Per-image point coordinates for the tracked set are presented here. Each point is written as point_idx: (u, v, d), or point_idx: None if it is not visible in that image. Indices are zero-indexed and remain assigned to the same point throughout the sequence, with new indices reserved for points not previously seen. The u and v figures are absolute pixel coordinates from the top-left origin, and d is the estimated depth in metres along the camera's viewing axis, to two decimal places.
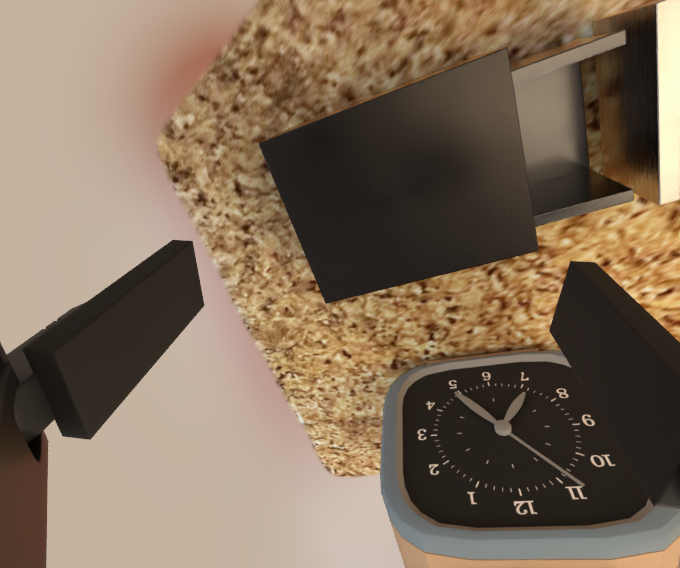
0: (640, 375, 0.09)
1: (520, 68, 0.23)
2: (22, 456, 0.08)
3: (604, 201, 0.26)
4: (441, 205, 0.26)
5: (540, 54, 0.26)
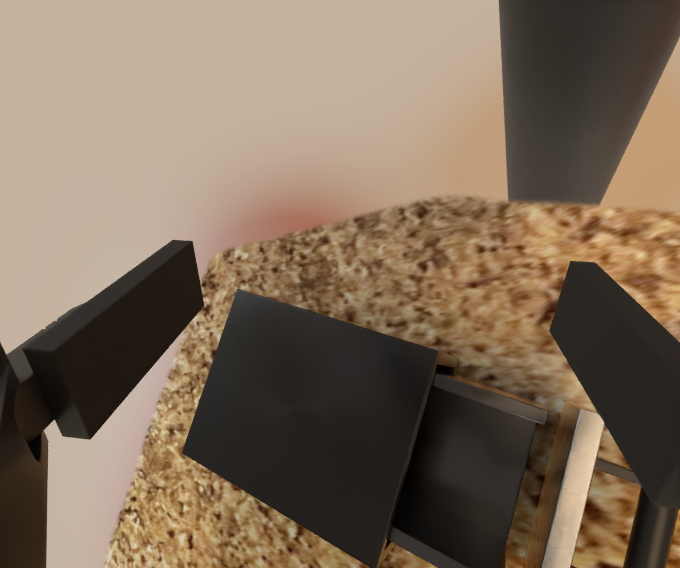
0: (640, 376, 0.09)
1: (447, 377, 0.23)
2: (22, 456, 0.08)
3: None
4: (320, 442, 0.25)
5: (494, 389, 0.27)
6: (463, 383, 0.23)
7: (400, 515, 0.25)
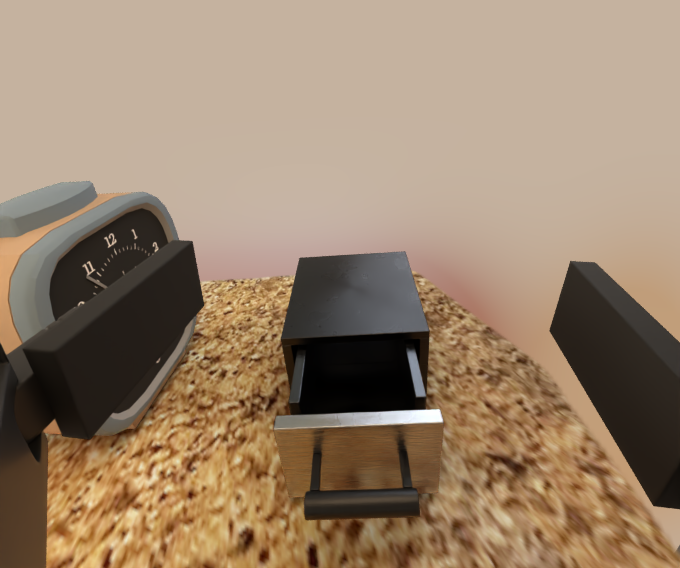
0: (639, 376, 0.09)
1: (414, 348, 0.33)
2: (22, 456, 0.08)
3: (297, 385, 0.30)
4: (339, 301, 0.38)
5: None
6: (415, 355, 0.32)
7: (309, 364, 0.35)
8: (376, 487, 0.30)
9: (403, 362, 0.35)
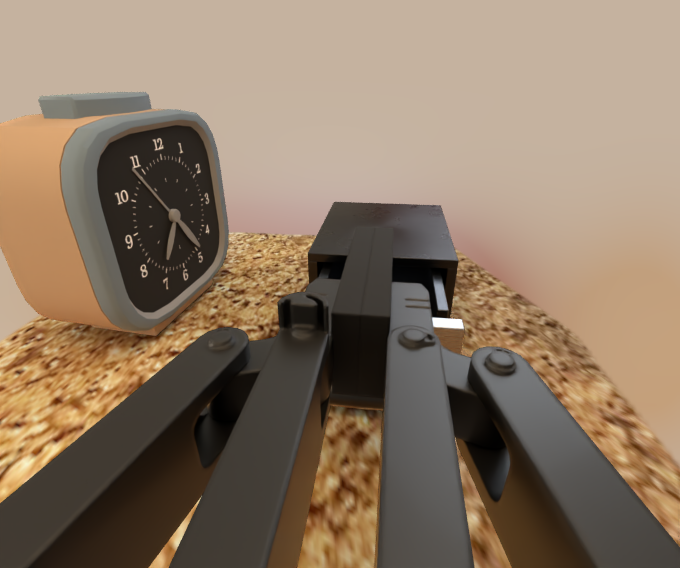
0: None
1: (440, 276, 0.32)
2: (316, 422, 0.08)
3: None
4: None
5: None
6: (441, 281, 0.31)
7: None
8: None
9: None
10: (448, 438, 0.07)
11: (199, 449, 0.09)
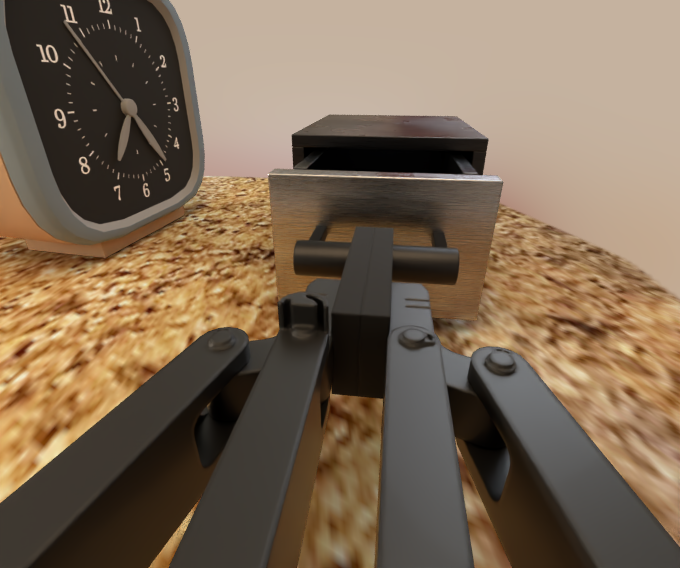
0: None
1: (462, 156, 0.26)
2: (316, 423, 0.08)
3: (307, 162, 0.23)
4: (371, 126, 0.30)
5: None
6: (464, 157, 0.25)
7: None
8: None
9: None
10: (448, 438, 0.07)
11: (199, 449, 0.09)
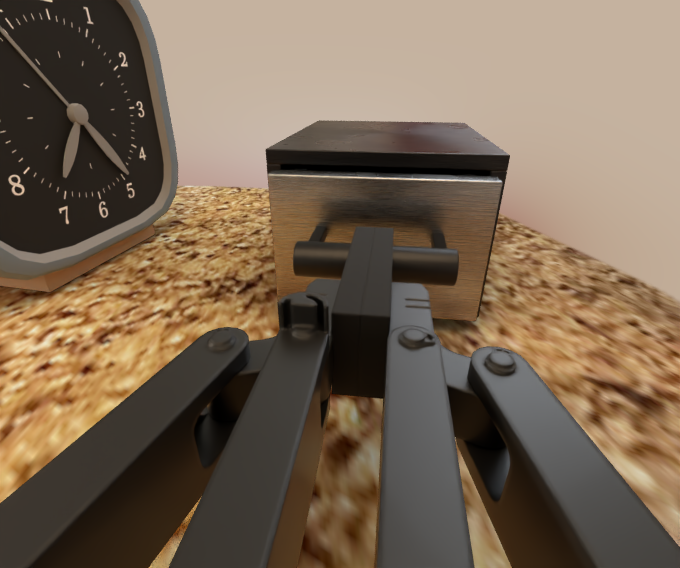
0: None
1: None
2: (316, 423, 0.08)
3: None
4: (365, 137, 0.25)
5: None
6: None
7: None
8: None
9: None
10: (448, 438, 0.07)
11: (199, 449, 0.09)
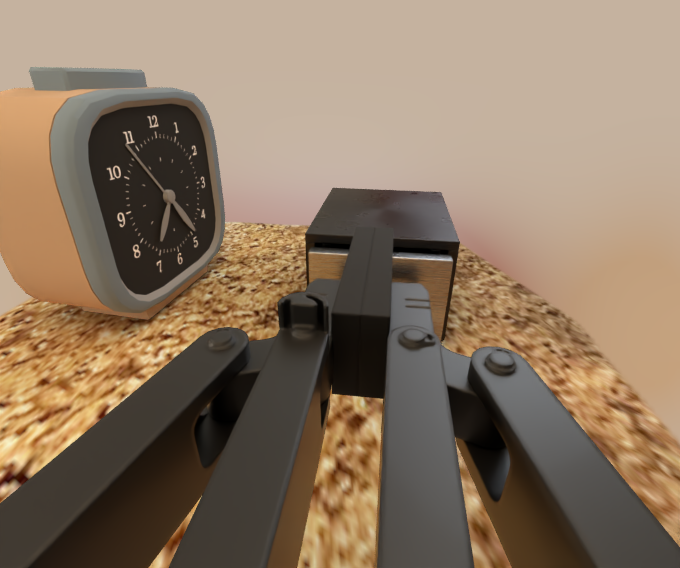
0: None
1: None
2: (316, 423, 0.08)
3: None
4: (369, 216, 0.37)
5: None
6: None
7: None
8: None
9: None
10: (448, 438, 0.07)
11: (199, 449, 0.09)
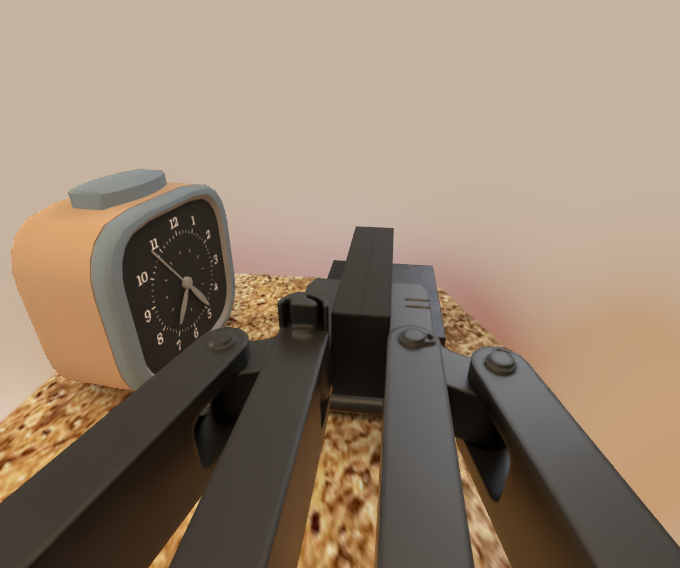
0: None
1: None
2: (316, 423, 0.08)
3: None
4: None
5: None
6: None
7: None
8: None
9: None
10: (448, 438, 0.07)
11: (199, 449, 0.09)
